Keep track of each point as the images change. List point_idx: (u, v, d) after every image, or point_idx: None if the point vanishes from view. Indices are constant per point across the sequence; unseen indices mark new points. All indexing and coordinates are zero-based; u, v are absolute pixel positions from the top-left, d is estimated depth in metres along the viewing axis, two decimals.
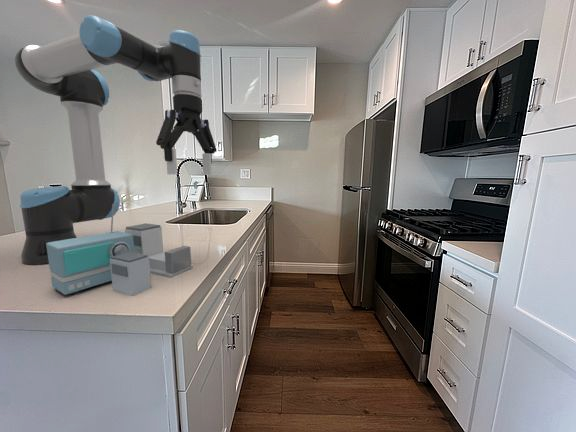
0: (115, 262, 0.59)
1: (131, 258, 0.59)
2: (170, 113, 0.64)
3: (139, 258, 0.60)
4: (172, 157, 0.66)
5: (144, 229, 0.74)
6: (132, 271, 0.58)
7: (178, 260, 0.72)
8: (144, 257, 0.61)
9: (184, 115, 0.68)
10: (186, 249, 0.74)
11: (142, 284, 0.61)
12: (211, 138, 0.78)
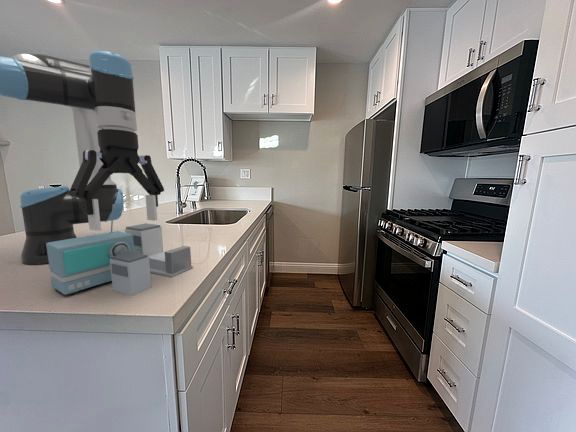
0: (115, 262, 0.59)
1: (131, 258, 0.59)
2: (88, 155, 0.51)
3: (139, 258, 0.60)
4: (93, 209, 0.52)
5: (144, 229, 0.74)
6: (132, 272, 0.58)
7: (178, 260, 0.72)
8: (144, 257, 0.61)
9: (111, 155, 0.54)
10: (186, 249, 0.74)
11: (142, 284, 0.61)
12: (155, 177, 0.64)
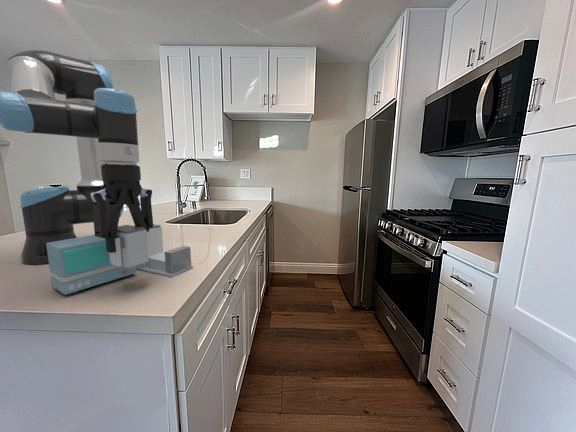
0: None
1: (129, 229, 0.59)
2: (95, 199, 0.53)
3: (137, 230, 0.59)
4: (115, 247, 0.57)
5: None
6: (129, 243, 0.58)
7: (178, 260, 0.72)
8: (142, 230, 0.60)
9: (113, 188, 0.55)
10: (186, 249, 0.74)
11: (139, 256, 0.60)
12: (149, 211, 0.64)
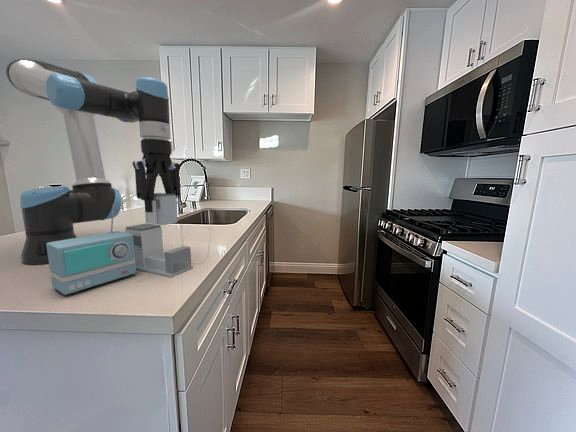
0: None
1: None
2: (138, 166, 0.65)
3: (169, 194, 0.72)
4: (152, 208, 0.70)
5: (144, 229, 0.74)
6: (164, 204, 0.70)
7: (178, 260, 0.72)
8: (172, 195, 0.73)
9: (151, 158, 0.68)
10: (186, 249, 0.74)
11: (171, 217, 0.73)
12: (177, 181, 0.77)
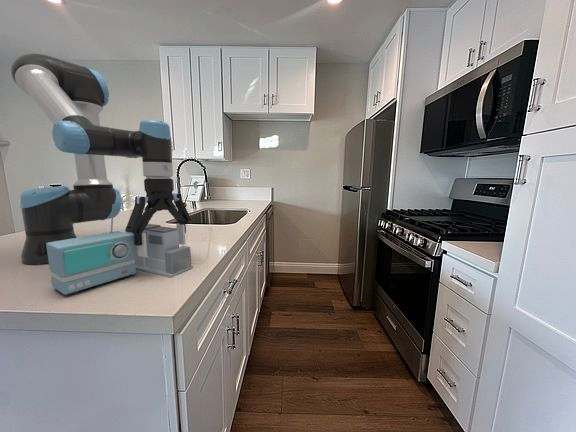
0: (151, 233, 0.73)
1: (165, 229, 0.73)
2: (139, 200, 0.66)
3: (171, 230, 0.73)
4: (142, 241, 0.68)
5: (144, 229, 0.74)
6: (166, 240, 0.72)
7: (178, 260, 0.72)
8: (174, 230, 0.74)
9: (154, 198, 0.70)
10: (186, 249, 0.74)
11: None
12: (185, 209, 0.80)
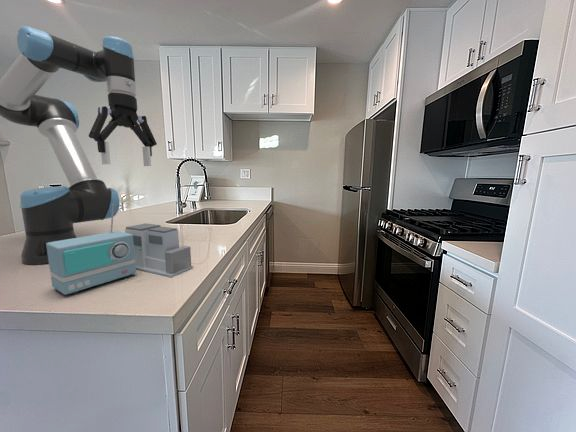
0: (151, 233, 0.73)
1: (165, 229, 0.73)
2: (101, 110, 0.73)
3: (171, 230, 0.73)
4: (105, 149, 0.74)
5: (144, 229, 0.74)
6: (166, 240, 0.72)
7: (178, 260, 0.72)
8: (174, 230, 0.74)
9: (117, 111, 0.76)
10: (186, 249, 0.74)
11: None
12: (150, 133, 0.86)
